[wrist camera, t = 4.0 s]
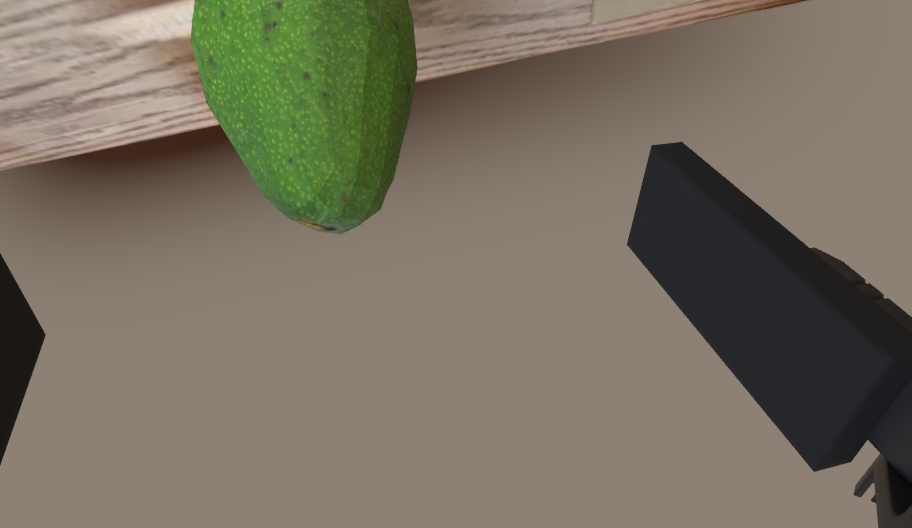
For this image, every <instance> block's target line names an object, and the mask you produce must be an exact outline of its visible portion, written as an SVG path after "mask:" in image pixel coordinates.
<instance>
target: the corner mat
mask: <svg viewBox="0 0 912 528" xmlns="http://www.w3.org/2000/svg"><path fill="white" fill-rule="evenodd" d="M695 1H700V0H593V6H592V11H591V17H590V19H591V24H592V25H594V24H599V23H603V22H608V21H612V20H616V19H621V18H625V17H630V16H634V15H638V14H643V13H647V12H651V11H656V10H660V9H665V8H669V7H673V6H678V5H682V4H687V3H691V2H695Z"/></svg>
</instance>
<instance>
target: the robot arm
mask: <svg viewBox="0 0 912 528" xmlns="http://www.w3.org/2000/svg"><path fill="white" fill-rule="evenodd" d="M627 245H628V246H629V248H630V249H631V250H632V251H633V252H634V253H635V255H636V256H637V257H638V258H639V260H640V261H641V262H642V263H643V265H644V266H645V267H646V268H647V269H648V271H649V272H650V273H651V274H652V275H653V277H654V278H655V279H656V280H657V282H658V283H659V284H660V285H661V286H662V287H663V289H664V290H665V291H666V292H667V294H668V295H669V296H670V297H671V299H672V300H673V301H674V302H675V303H676V305H677V306H678V307H679V308H680V310H682V312H683V313H684V314H685V316H686V317H687V318H688V319H689V320H690V321H691V323H692V324H693V325H694V327H696V329H697V330H698V331H699V333H700V334H701V335H702V336H703V337H704V339H705V340H706V341H707V342H708V343H709V345H710V346H711V347H712V348H713V349H714V351H715V352H716V353H717V354H718V356H719V357H720V358H721V359H722V361H723V362H724V363H725V364H726V365H727V367H728V368H729V369H730V370H731V371H732V373H733V374H734V375H735V376H736V378H737V379H738V380H739V381H740V382H741V384H742V385H743V386H744V387H745V388H746V390H747V391H748V392H749V393H750V395H751V396H752V397H753V398H754V399H755V401H756V402H757V403H758V404H759V405H760V407H761V408H762V409H763V410H764V411H765V413H766V414H767V415H768V416H769V418H770V419H771V420H772V421H773V422H774V424H775V425H776V426H777V427H778V429H779V430H780V431H781V432H782V433H783V435H784V436H785V437H786V438H787V439H788V440H789V442H790V443H791V444H792V446H793V447H794V448H795V449H796V450H797V452H798V453H799V454H800V455H801V456H802V458H803V459H804V460H805V461H806V463H807V464H808V465H809V466H810V467H811V469H812V470H813V471H814V472H815V471H819V470H823V469H826V468H830V467H834V466H838V465H841V464H845V463H849V462H851V461H852V460H853V459H854V457H855V456H856V455H857V453H858V452H859V450H860V449H861V448H862V446H863V445H864V444H865V442H866V441H867V440H869V441H870V442H871V444H873V446H874V447H875V448H876V449H877V450H878V451H879V452H880V455H879V456H878V457H877V458H876V460H875V461H874V462H873V464H872V465H871V466H870V467H869V469H868V470H867V471H866V473H865V474H864V475H863V477H862V478H861V479H860V481H859V482H858V483H857V484H856V487H855V491H854V495H855V496H858V497H861V496H862V495H863V494H864V493H865V492H866V490H867V489H868V488H869V487H870V485H871V484H872V483H875V495H874V497H873V498H872V499H871V501H872V502H875V503H876V504H877V516H878V527H879V528H912V317H911V316H909V315H908V314H907V313H906V312H905V311H903V310H902V309H901V308H900V307H898V306H897V305H896V304H895V303H893V302H892V301H891V300H890V299H888V298H887V299H884V297H883V294H882V293H881V292H880V291H879V290H877V289H876V288H875V287H874V286H872V285H871V284H870V283H869V284H866V283H865V279H864V278H862V277H861V276H860V275H859V274H857V273H856V272H855V271H854V270H852V269H851V268H850V267H849V266H848V265H846V264H845V263H844V262H842V261H840V260H838V259H836V258H834V257H832V256H831V255H829V254H827V253H825V252H822V251H821V250H819V249H817V248H809V247H808V246H806V245H805V244H804V243H803V242H802V241H800V240H799V239H798V238H797V237H796V236H794V235H793V234H792V233H791V232H789V231H788V230H787V229H786V228H785V227H783V226H782V225H781V224H780V223H779V222H778V221H776V220H775V219H774V218H773V217H772V216H770V215H769V214H768V213H767V212H765V211H764V210H763V209H762V208H761V207H759V206H758V205H757V204H756V203H755V202H754V201H752V200H751V199H750V198H749V197H747V196H746V195H745V194H744V193H743V192H741V191H740V190H739V189H738V188H737V187H735V186H734V185H733V184H732V183H731V182H729V181H728V180H727V179H726V178H725V177H723V176H722V175H721V174H720V173H719V172H717V171H716V170H715V169H714V168H712V167H711V166H710V165H709V164H708V163H706V162H705V161H704V160H703V159H702V158H701V157H699V156H698V155H697V154H696V153H694V152H693V151H692V150H691V149H690V148H688V147H687V146H686V145H685V144H684V143H683V142H678V143H668V144H660V145H652V146H651V151H650V154H649V158H648V162H647V167H646V170H645V175H644V178H643V182H642V186H641V190H640V195H639V199H638V203H637V207H636V211H635V215H634V219H633V223H632V227H631V231H630V235H629V239H628V243H627ZM44 338H45V333H44V331H43V329H42V327H41V326H40V324H39V322H38V320H37V318H36V317H35V315H34V313H33V311H32V310H31V308H30V306H29V304H28V302H27V301H26V299H25V297H24V295H23V293H22V292H21V290H20V288H19V286H18V284H17V283H16V281H15V279H14V277H13V275H12V274H11V272H10V270H9V268H8V266H7V265H6V263H5V261H4V259H3V258H2V256H1V254H0V464H1V461H2V459H3V456H4V453H5V450H6V447H7V444H8V441H9V438H10V436H11V433H12V430H13V427H14V424H15V421H16V418H17V415H18V413H19V410H20V407H21V404H22V401H23V398H24V396H25V393H26V390H27V387H28V384H29V381H30V378H31V376H32V372H33V370H34V367H35V364H36V361H37V358H38V355H39V353H40V350H41V346H42V344H43V341H44Z"/></svg>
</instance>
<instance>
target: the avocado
mask: <svg viewBox="0 0 912 528" xmlns="http://www.w3.org/2000/svg"><path fill="white" fill-rule="evenodd" d="M191 43H192V47H193V51H194V55H195V59H196V63H197V67H198V71H199V75H200V78H201V82H202V86H203V90H204V94H205V98H206V102H207V104H208V106H209V107H210V109H211V111H212V112H213V114H214V115H215V117H216V119H217V120H218V122H219V123H220V125H221V127H222V128H223V130H224V132H225V133H226V135H227V136H228V138H229V139H230V141H231V143H232V144H233V146H234V148H235V149H236V151H237V153H238V154H239V156H240V157H241V159H242V161H243V162H244V164H245V166H246V167H247V169H248V171H249V172H250V174H251V175H252V177H253V179H254V180H255V182H256V184H257V185H258V187H259V188H260V190H261V191H262V193H263V194H264V196H265V197H266V198H267V199H268V200H269V201H270V202H271V203H272V204H273V205H274V206H275V207H276V208H277V209H278V210H279V211H281V212H282V213H283V214H284V215H286V216H287V217H288V218H290V219H292V220H294V221H296V222H298V223H300V224H303V225H305V226H307V227H309V228H312V229H314V230H316V231H321V232H329V233H335V234H342V233H344V232H346V231H348V230H350V229H352V228H354V227H356V226H358V225H360V224H361V223H363V222H364V221H365V220H367V219H368V218H369V217H371V216H372V215H373V214H375V213H376V212H377V211H379V210H380V209H381V207H382V204H383V201H384V198H385V196H386V193H387V191H388V189H389V187H390V185H391V183H392V181H393V179H394V175H395V170H396V166H397V163H398V159H399V153H400V149H401V145H402V142H403V138H404V134H405V130H406V127H407V123H408V119H409V116H410V110H411V104H412V98H413V92H414V86H415V79H416V73H417V59H416V47H415V36H414V25H413V17H412V13H411V10H410V7H409V3H408V0H195V5H194V14H193V19H192V33H191Z"/></svg>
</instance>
